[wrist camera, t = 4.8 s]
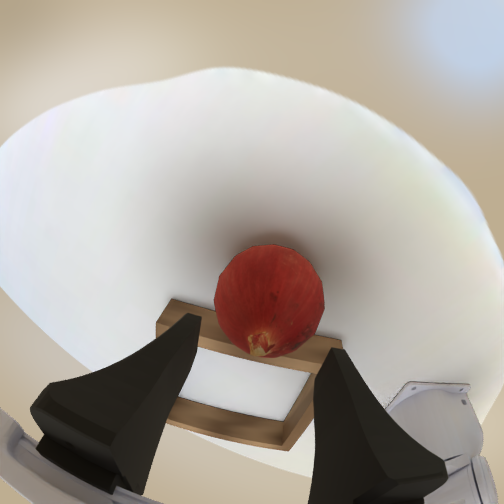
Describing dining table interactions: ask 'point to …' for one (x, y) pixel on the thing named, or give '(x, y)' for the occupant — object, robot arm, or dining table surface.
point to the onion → (269, 301)
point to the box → (235, 423)
